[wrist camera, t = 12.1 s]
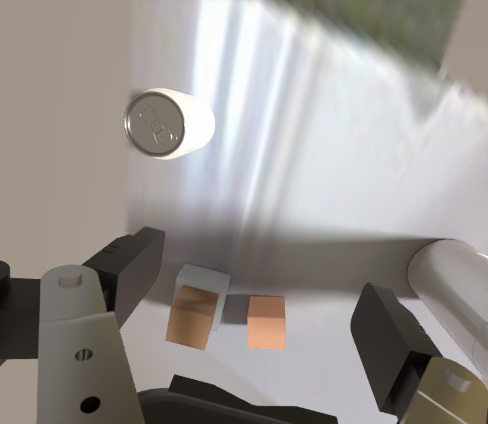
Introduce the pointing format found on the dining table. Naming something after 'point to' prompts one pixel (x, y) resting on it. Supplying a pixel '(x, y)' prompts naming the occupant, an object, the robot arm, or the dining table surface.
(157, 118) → the can
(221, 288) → the base block
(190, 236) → the dining table surface
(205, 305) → the walnut cube
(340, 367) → the dining table surface
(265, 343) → the terracotta cube
